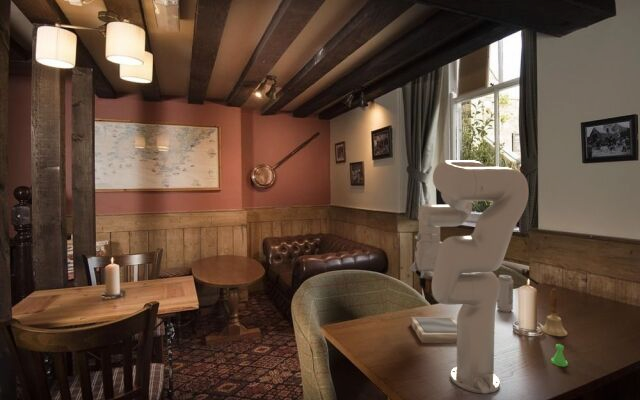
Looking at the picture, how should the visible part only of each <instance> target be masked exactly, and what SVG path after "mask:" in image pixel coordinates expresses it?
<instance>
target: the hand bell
mask: <svg viewBox="0 0 640 400" xmlns="http://www.w3.org/2000/svg"><path fill="white" fill-rule="evenodd" d="M549 301H550V304H551V309H550V312H551V314H550V315H547V316H546V321H545V323H544V325H542V327H541V328H540V331H541V330H542V331H543V332H542V331H541V332H542V333H544V334H545V335H549V336H552V337H554V336H555V337H566V336H568V332H567V330H565V328H564V326H563V323H562V318H561V317H560V316H558V315H557V314H558V311H557V305H558V303H559V295H558V292H557V289H556V288H552V289H551V290H550V294H549Z"/></svg>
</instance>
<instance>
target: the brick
mask: <svg viewBox="0 0 640 400" xmlns="http://www.w3.org/2000/svg"><path fill="white" fill-rule="evenodd" d="M424 278H425V289H422V290H424V292H426V293H427V294H429V295H433V293H432V278H433V276H431V275H424Z"/></svg>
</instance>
